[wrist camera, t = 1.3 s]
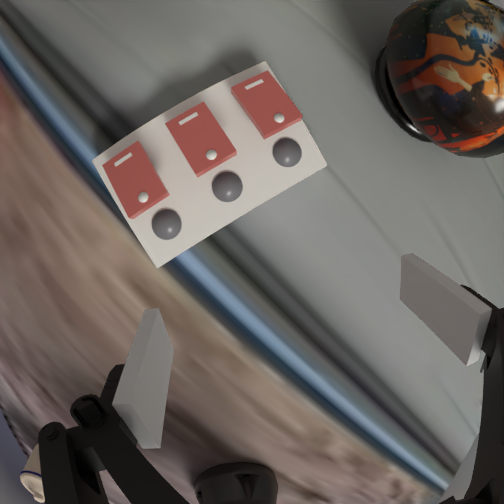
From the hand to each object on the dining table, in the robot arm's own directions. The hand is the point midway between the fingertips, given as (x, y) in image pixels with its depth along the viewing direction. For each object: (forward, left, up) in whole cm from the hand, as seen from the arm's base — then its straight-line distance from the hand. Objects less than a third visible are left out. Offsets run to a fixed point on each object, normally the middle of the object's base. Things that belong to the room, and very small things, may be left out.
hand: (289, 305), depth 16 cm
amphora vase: (+34, +6, -22) cm, 41 cm away
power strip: (+2, +10, -22) cm, 24 cm away
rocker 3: (+9, +11, -18) cm, 23 cm away
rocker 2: (+2, +11, -18) cm, 21 cm away
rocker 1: (-6, +11, -18) cm, 22 cm away
